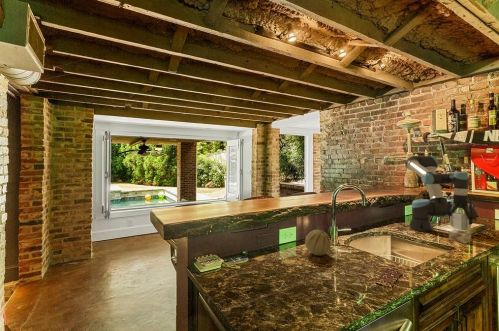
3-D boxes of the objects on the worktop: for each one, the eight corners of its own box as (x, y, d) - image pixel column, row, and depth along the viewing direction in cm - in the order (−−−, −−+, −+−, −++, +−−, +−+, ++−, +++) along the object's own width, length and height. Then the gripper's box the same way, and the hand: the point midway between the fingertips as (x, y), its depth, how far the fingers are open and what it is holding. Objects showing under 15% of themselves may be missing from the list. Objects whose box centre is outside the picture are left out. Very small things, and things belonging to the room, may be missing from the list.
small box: (469, 230, 166) (469, 214, 166) (461, 230, 166) (461, 214, 166) (459, 227, 174) (459, 212, 174) (451, 227, 174) (451, 212, 174)
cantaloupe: (303, 249, 157) (303, 226, 156) (327, 249, 156) (327, 226, 155) (307, 259, 142) (307, 233, 141) (333, 259, 141) (333, 233, 141)
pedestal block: (448, 240, 172) (449, 231, 172) (454, 237, 177) (454, 229, 176) (465, 243, 164) (465, 235, 164) (470, 241, 169) (471, 232, 169)
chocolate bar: (374, 284, 115) (374, 280, 115) (385, 270, 129) (385, 266, 128) (391, 290, 110) (391, 285, 110) (401, 275, 124) (401, 271, 124)
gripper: (439, 192, 178) (439, 223, 179) (477, 197, 158) (476, 232, 158) (446, 192, 181) (445, 222, 182) (484, 196, 161) (483, 230, 161)
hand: (460, 227), depth 170 cm, fingers closed on small box, 9 cm apart
